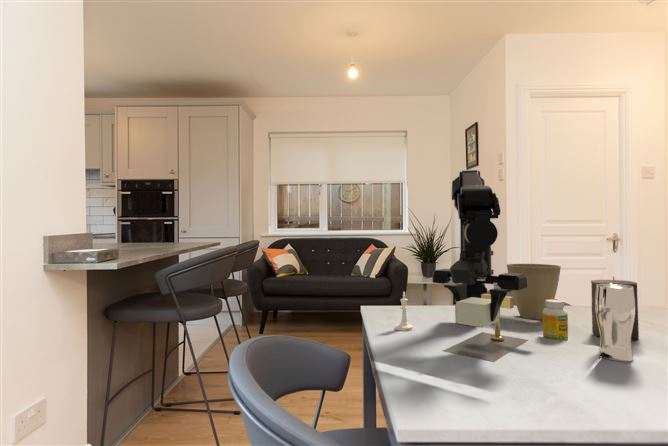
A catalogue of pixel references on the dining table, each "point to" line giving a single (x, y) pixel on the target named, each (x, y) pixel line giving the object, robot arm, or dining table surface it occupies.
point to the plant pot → (535, 288)
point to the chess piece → (404, 317)
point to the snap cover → (474, 312)
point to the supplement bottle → (555, 320)
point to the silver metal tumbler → (615, 320)
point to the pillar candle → (594, 319)
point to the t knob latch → (508, 317)
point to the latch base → (485, 347)
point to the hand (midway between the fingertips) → (477, 319)
